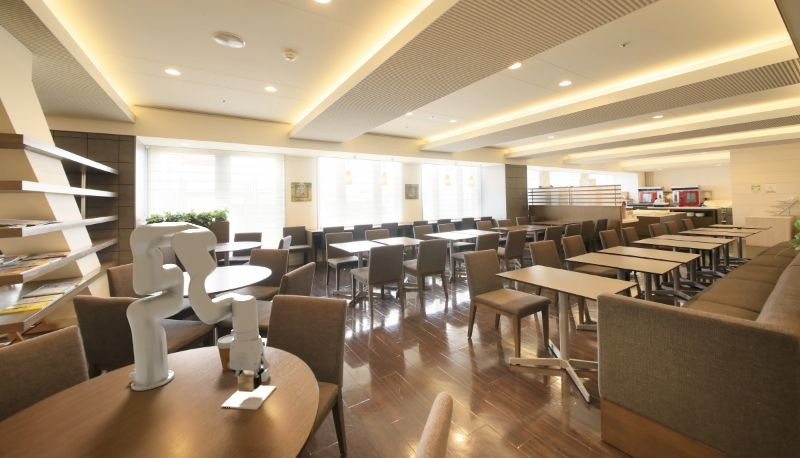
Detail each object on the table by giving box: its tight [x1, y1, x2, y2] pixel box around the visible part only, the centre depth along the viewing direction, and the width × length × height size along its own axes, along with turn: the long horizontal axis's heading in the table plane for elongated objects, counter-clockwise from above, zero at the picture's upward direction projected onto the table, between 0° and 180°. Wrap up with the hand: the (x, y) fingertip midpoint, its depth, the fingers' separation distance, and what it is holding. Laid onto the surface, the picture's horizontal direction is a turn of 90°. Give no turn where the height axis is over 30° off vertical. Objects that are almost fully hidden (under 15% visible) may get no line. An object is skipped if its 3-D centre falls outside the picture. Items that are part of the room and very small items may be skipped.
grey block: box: [261, 365, 270, 383], centre depth 119 cm, size 4×4×4 cm
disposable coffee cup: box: [216, 333, 234, 373], centre depth 127 cm, size 10×10×12 cm
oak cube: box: [236, 369, 258, 392], centre depth 107 cm, size 5×5×5 cm
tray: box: [221, 384, 277, 410], centre depth 108 cm, size 12×12×1 cm
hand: (249, 386), depth 107 cm, fingers closed on oak cube, 5 cm apart
